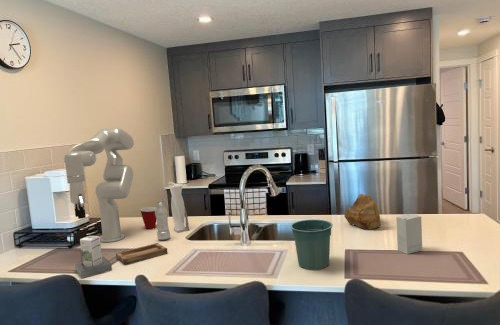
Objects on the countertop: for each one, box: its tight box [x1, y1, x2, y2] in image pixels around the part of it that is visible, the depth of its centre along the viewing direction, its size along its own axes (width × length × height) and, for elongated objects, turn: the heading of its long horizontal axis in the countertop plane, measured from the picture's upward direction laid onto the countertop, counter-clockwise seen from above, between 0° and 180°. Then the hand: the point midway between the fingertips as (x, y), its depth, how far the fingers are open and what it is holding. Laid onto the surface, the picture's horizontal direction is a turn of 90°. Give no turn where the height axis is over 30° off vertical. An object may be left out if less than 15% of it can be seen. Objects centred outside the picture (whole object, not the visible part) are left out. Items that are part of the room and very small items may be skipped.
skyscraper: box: [168, 182, 190, 233], centre depth 216 cm, size 8×8×28 cm
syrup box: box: [79, 235, 103, 269], centre depth 162 cm, size 6×6×14 cm
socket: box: [74, 256, 113, 279], centre depth 162 cm, size 12×12×3 cm
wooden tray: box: [115, 242, 169, 266], centre depth 177 cm, size 12×20×2 cm, turn 126°
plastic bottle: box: [155, 201, 171, 241], centre depth 200 cm, size 6×7×20 cm
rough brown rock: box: [343, 193, 381, 230], centre depth 201 cm, size 23×17×15 cm
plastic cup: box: [139, 206, 158, 230], centre depth 226 cm, size 11×11×12 cm
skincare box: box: [396, 213, 423, 255], centre depth 158 cm, size 8×6×15 cm
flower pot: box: [290, 218, 334, 270], centre depth 151 cm, size 16×16×16 cm
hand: (80, 216), depth 180 cm, fingers open, 5 cm apart
